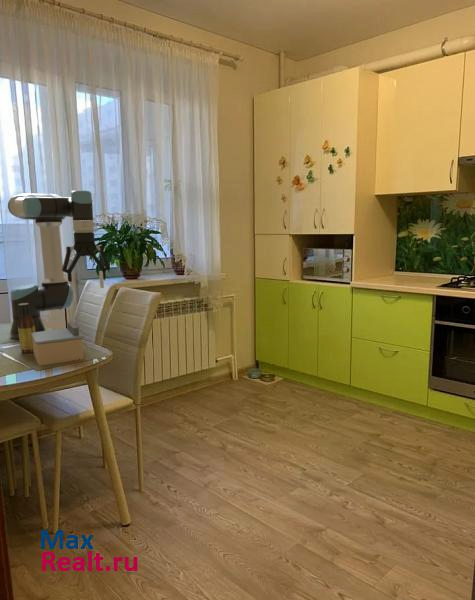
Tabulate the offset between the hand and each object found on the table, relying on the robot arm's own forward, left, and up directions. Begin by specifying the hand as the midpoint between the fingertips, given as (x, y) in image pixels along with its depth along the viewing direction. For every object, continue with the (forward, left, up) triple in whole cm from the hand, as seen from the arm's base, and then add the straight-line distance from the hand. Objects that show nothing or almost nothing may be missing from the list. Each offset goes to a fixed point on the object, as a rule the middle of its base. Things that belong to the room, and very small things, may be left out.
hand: (87, 288), depth 185 cm
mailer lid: (0, -13, -18) cm, 22 cm away
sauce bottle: (-15, -22, -26) cm, 37 cm away
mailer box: (0, -13, -26) cm, 29 cm away
